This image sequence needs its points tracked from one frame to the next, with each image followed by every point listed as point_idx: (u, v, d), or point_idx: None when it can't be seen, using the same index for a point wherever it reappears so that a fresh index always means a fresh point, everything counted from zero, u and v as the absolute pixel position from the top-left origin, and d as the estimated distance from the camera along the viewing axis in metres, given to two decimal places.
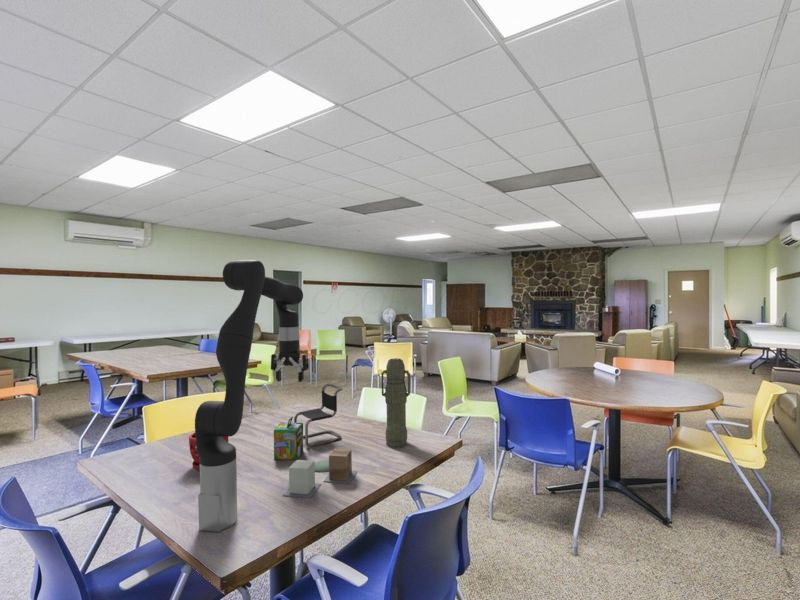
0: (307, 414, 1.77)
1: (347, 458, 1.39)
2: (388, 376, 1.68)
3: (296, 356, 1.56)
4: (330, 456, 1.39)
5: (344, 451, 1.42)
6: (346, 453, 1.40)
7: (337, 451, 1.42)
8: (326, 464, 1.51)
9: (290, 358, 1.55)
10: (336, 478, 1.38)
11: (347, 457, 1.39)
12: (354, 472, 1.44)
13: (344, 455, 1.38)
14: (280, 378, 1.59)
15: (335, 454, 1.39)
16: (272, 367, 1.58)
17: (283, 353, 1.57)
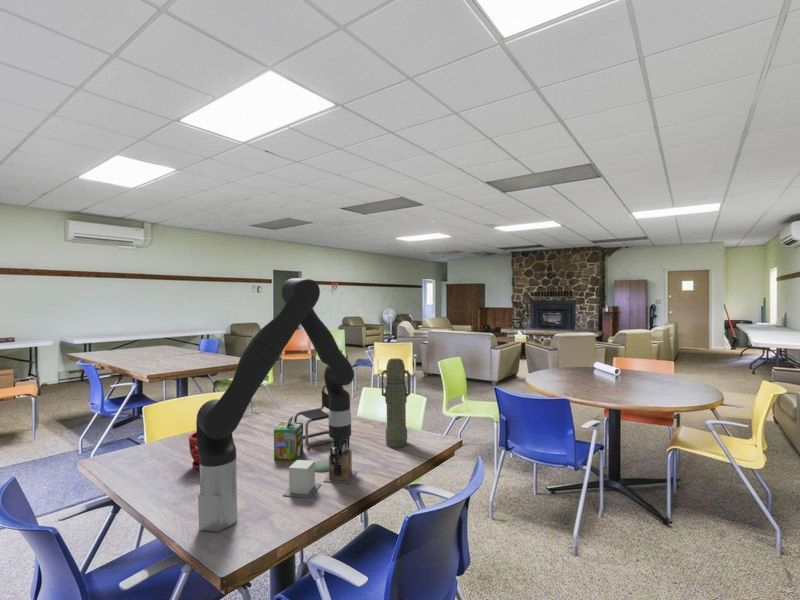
0: (307, 414, 1.77)
1: (347, 458, 1.39)
2: (388, 376, 1.68)
3: (346, 438, 1.44)
4: None
5: (344, 451, 1.42)
6: (346, 453, 1.40)
7: None
8: (326, 464, 1.51)
9: (346, 441, 1.42)
10: (336, 478, 1.38)
11: (347, 457, 1.39)
12: (354, 472, 1.44)
13: (344, 455, 1.38)
14: None
15: None
16: (338, 462, 1.35)
17: (341, 440, 1.39)
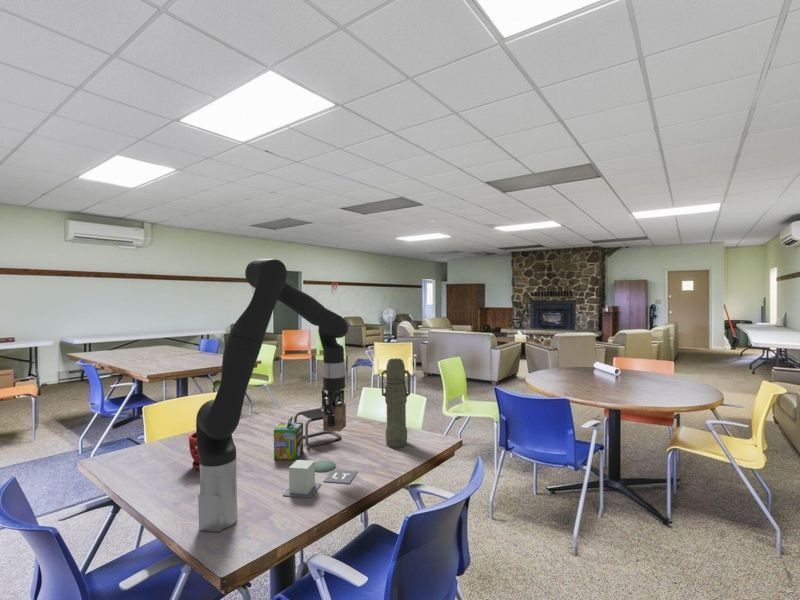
0: (307, 414, 1.77)
1: (341, 410, 1.41)
2: (388, 376, 1.68)
3: (340, 391, 1.46)
4: None
5: (338, 404, 1.44)
6: (340, 405, 1.42)
7: None
8: (326, 464, 1.51)
9: (340, 395, 1.44)
10: (330, 429, 1.40)
11: (341, 409, 1.41)
12: (354, 472, 1.44)
13: (338, 407, 1.41)
14: None
15: None
16: (332, 412, 1.38)
17: (335, 392, 1.41)
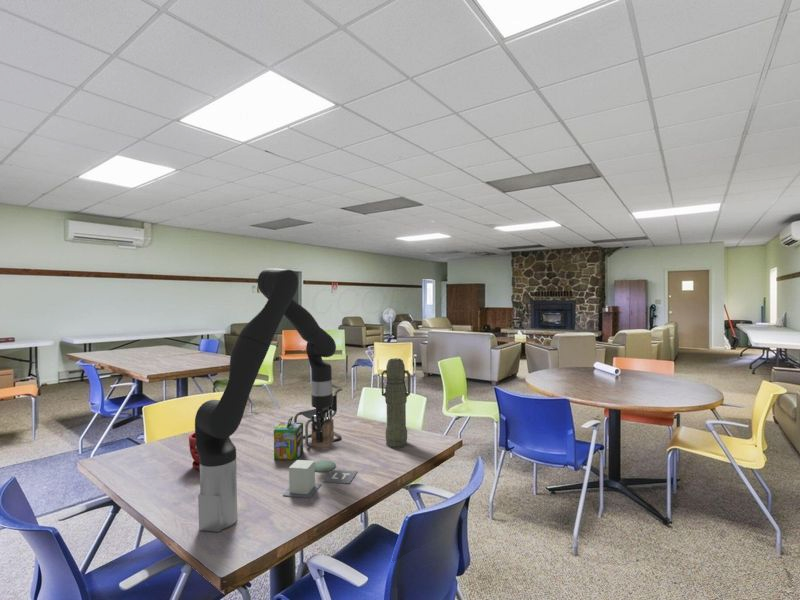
0: (307, 414, 1.77)
1: (329, 426, 1.47)
2: (388, 376, 1.68)
3: (328, 408, 1.52)
4: None
5: (326, 420, 1.50)
6: (328, 422, 1.48)
7: None
8: (326, 464, 1.51)
9: (328, 411, 1.50)
10: (318, 445, 1.47)
11: (329, 425, 1.47)
12: (354, 472, 1.44)
13: (326, 423, 1.47)
14: None
15: None
16: (320, 429, 1.44)
17: (323, 409, 1.47)
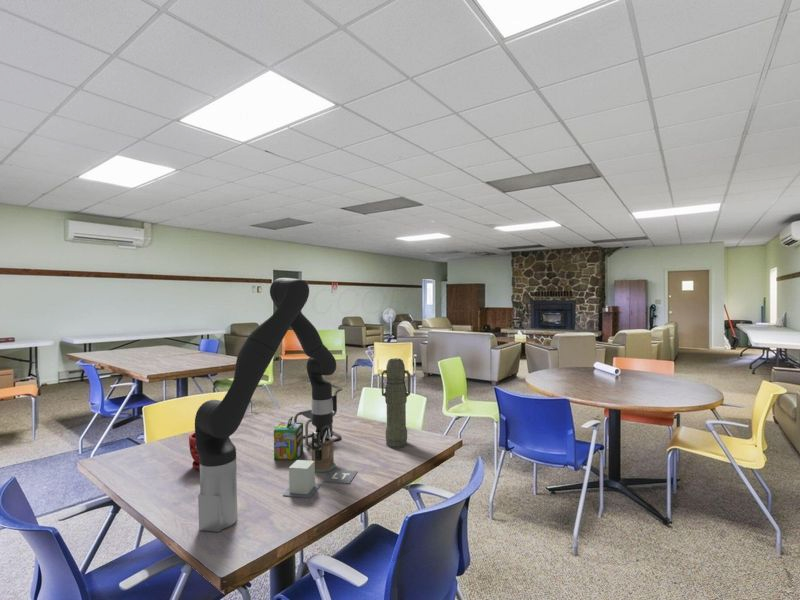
0: (307, 414, 1.77)
1: (329, 449, 1.47)
2: (388, 376, 1.68)
3: (328, 425, 1.52)
4: None
5: (326, 442, 1.50)
6: (328, 444, 1.49)
7: None
8: None
9: (328, 429, 1.50)
10: (318, 467, 1.47)
11: (329, 448, 1.47)
12: (354, 472, 1.44)
13: (326, 446, 1.47)
14: None
15: None
16: (319, 447, 1.43)
17: (323, 427, 1.47)
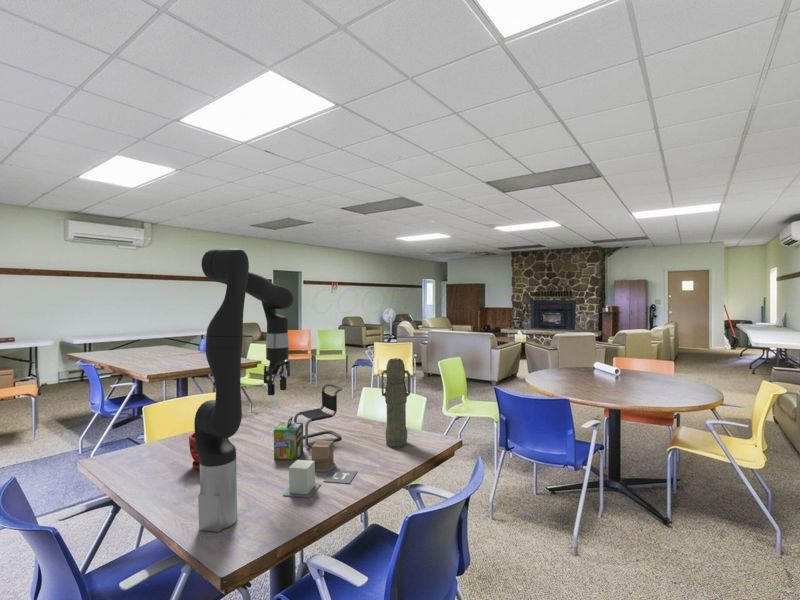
0: (307, 414, 1.77)
1: (329, 449, 1.47)
2: (388, 376, 1.68)
3: (284, 363, 1.48)
4: (313, 447, 1.47)
5: (326, 442, 1.50)
6: (328, 444, 1.49)
7: (320, 443, 1.50)
8: None
9: (284, 366, 1.46)
10: (318, 467, 1.47)
11: (329, 448, 1.47)
12: (354, 472, 1.44)
13: (326, 446, 1.47)
14: None
15: (318, 445, 1.47)
16: (271, 380, 1.39)
17: (277, 362, 1.43)
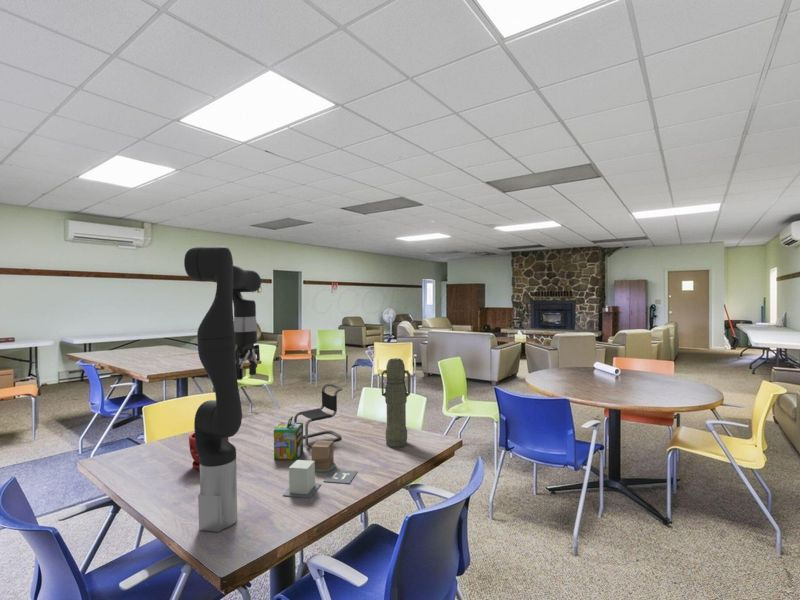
0: (307, 414, 1.77)
1: (329, 449, 1.47)
2: (388, 376, 1.68)
3: (253, 347, 1.45)
4: (313, 447, 1.47)
5: (326, 442, 1.50)
6: (328, 444, 1.49)
7: (320, 443, 1.50)
8: None
9: (252, 350, 1.43)
10: (318, 467, 1.47)
11: (329, 448, 1.47)
12: (354, 472, 1.44)
13: (326, 446, 1.47)
14: None
15: (318, 445, 1.47)
16: (238, 364, 1.36)
17: (245, 346, 1.40)
